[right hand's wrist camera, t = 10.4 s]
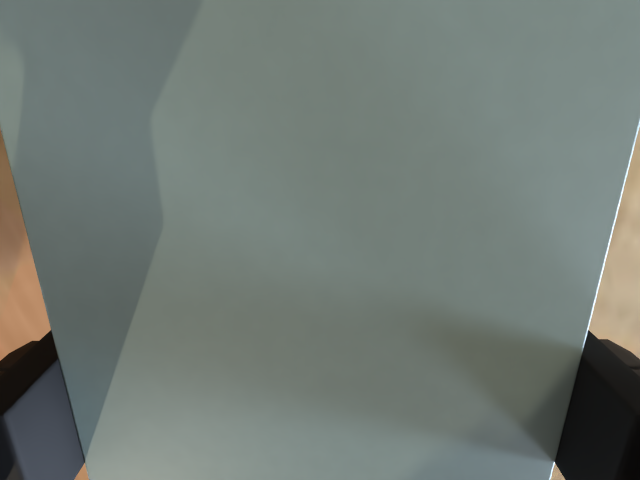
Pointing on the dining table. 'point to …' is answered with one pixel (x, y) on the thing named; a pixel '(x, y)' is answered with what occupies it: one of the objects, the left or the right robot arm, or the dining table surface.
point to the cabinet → (319, 225)
